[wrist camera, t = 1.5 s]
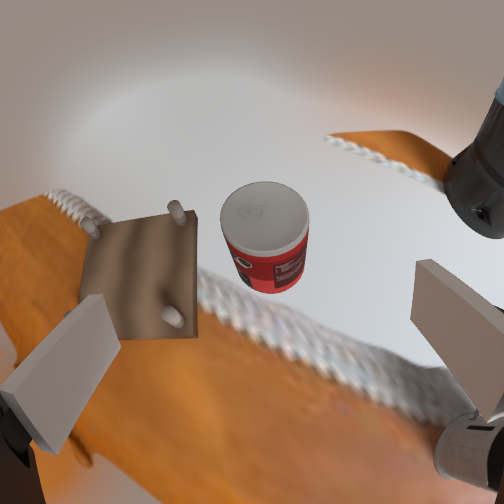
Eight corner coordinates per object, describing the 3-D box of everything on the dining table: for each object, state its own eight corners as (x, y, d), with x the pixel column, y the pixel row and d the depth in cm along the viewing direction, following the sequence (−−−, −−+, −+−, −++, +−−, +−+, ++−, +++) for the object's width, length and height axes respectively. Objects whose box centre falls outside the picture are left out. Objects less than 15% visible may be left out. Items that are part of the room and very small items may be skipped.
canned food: (240, 236, 38) (224, 181, 29) (304, 237, 37) (308, 180, 28) (234, 294, 35) (213, 252, 25) (304, 296, 34) (310, 254, 24)
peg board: (197, 218, 40) (186, 193, 36) (197, 337, 33) (182, 327, 28) (97, 233, 41) (78, 214, 37) (84, 339, 34) (58, 329, 29)
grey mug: (433, 489, 21) (504, 523, 8) (428, 382, 28) (509, 364, 14) (489, 464, 21) (567, 475, 7) (484, 363, 27) (566, 334, 14)
